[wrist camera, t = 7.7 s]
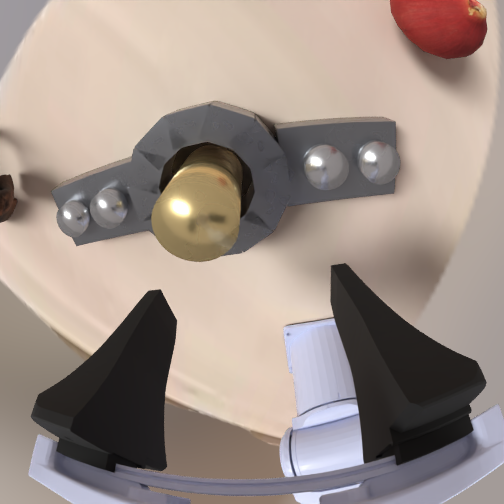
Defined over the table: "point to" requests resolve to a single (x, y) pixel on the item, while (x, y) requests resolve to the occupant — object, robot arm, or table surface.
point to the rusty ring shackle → (6, 197)
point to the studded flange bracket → (252, 153)
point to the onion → (442, 25)
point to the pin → (201, 206)
